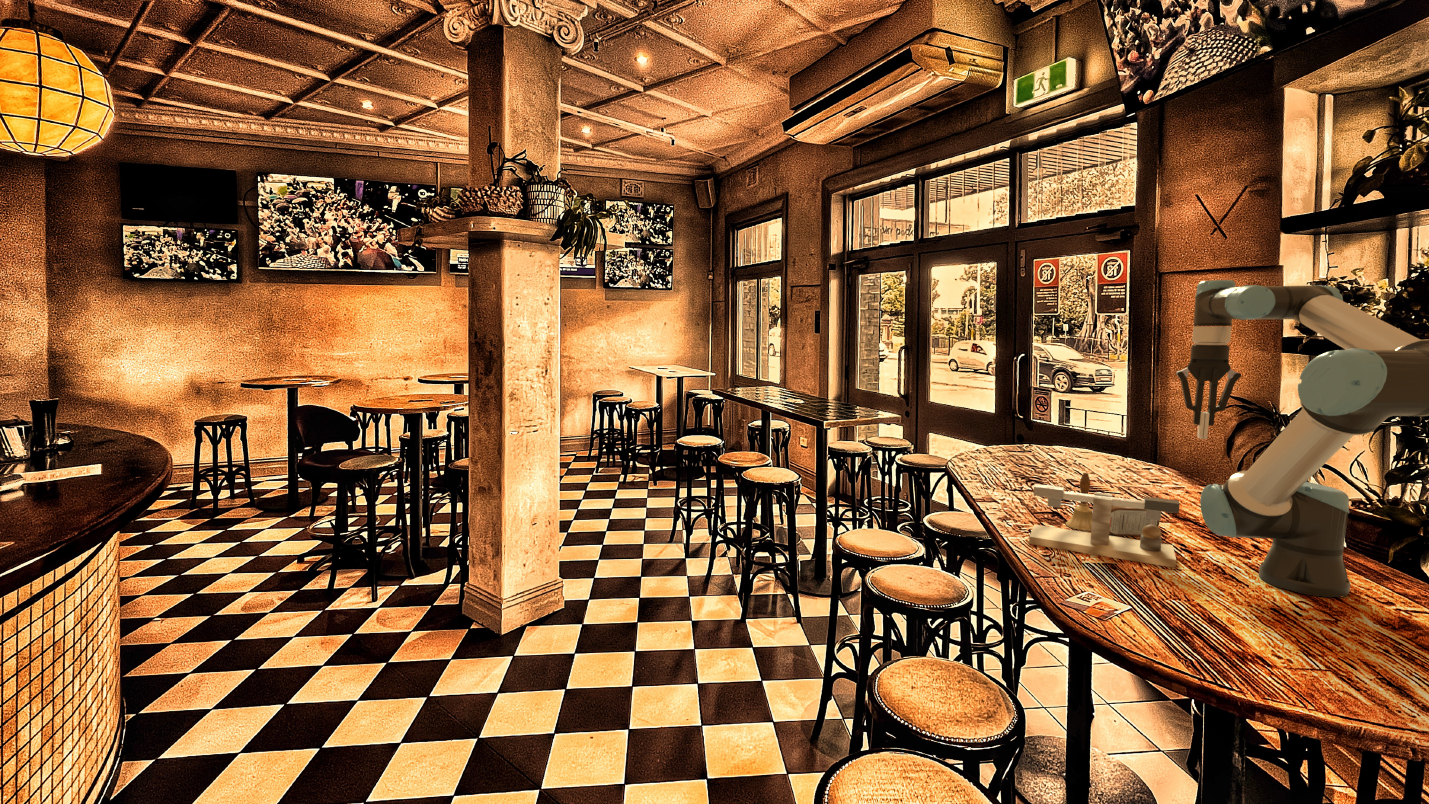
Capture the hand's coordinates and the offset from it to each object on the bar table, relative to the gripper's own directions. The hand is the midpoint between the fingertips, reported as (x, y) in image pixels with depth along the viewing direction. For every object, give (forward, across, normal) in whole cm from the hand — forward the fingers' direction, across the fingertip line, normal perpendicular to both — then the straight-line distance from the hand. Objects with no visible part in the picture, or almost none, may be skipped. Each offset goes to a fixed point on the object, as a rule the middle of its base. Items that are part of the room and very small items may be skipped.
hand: (1202, 438), depth 160 cm
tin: (+30, +13, -9) cm, 34 cm away
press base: (+30, +21, +7) cm, 37 cm away
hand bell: (+30, +24, -11) cm, 40 cm away
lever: (+20, +21, +7) cm, 30 cm away
